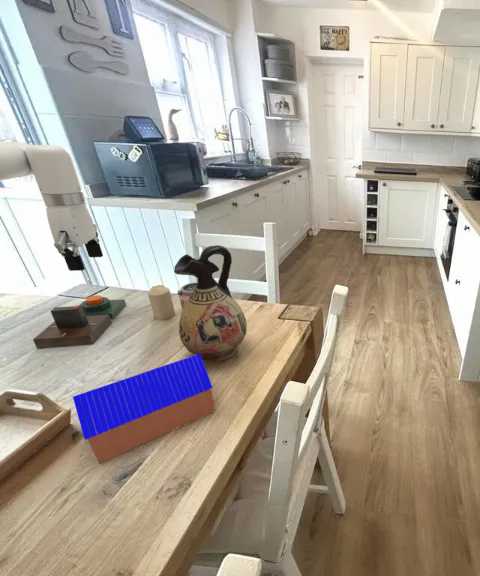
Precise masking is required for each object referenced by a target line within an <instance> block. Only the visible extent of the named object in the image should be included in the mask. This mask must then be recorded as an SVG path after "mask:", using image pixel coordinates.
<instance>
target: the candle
mask: <svg viewBox="0 0 480 576" xmlns="http://www.w3.org/2000/svg"><path fill="white" fill-rule="evenodd" d="M147 296H148V300H149V303H150V306H151V311H152V314H153V318H154V319H156V320H158V321H162V320H168V319H171V318H173V317H174V316H176V310H175V307H174V303H173V302H174V301H173V298H172V295H171V289H170V288H169V287H167V286H165V285H164V284H157V285H153V286H151V288H150V289H149V290H148V291H147Z"/></svg>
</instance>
